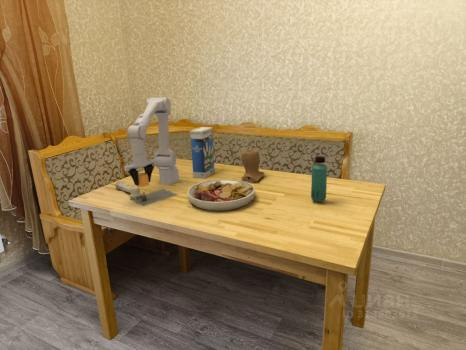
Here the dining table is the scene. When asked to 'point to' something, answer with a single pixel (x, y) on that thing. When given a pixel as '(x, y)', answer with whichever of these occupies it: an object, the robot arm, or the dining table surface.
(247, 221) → the dining table surface
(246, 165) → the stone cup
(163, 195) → the charcoal board
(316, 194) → the beverage bottle
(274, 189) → the dining table surface
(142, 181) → the orange cap
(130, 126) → the robot arm
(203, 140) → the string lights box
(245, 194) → the bowl
